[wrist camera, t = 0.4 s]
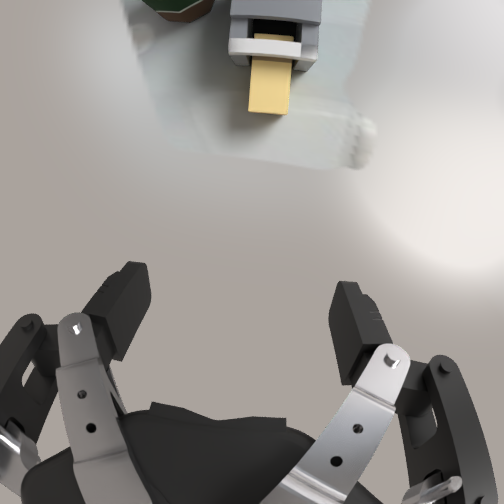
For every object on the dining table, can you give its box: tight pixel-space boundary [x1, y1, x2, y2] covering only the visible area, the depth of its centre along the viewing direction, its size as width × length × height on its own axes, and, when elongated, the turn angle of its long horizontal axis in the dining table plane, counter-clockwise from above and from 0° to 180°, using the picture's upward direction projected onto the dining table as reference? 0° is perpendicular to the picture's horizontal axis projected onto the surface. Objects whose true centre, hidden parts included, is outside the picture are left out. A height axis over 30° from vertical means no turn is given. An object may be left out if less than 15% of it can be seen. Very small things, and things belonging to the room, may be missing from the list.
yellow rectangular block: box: [248, 33, 294, 115], centre depth 25 cm, size 9×4×4 cm, turn 176°
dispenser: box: [228, 0, 322, 71], centre depth 21 cm, size 12×8×8 cm
